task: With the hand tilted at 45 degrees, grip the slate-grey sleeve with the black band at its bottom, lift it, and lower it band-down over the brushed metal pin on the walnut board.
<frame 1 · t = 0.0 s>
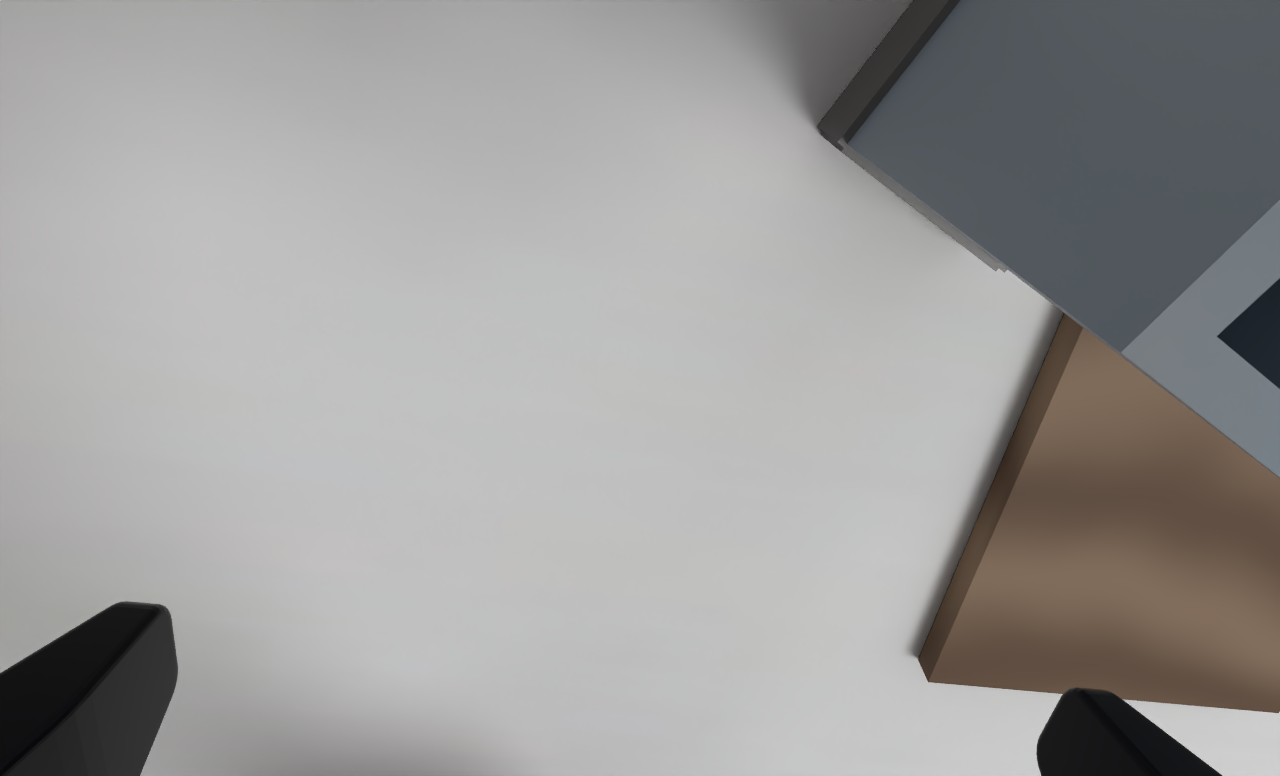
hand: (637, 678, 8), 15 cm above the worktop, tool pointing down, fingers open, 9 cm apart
sleeve: (970, 100, 20), on the worktop
pin board: (1181, 515, 26), on the worktop
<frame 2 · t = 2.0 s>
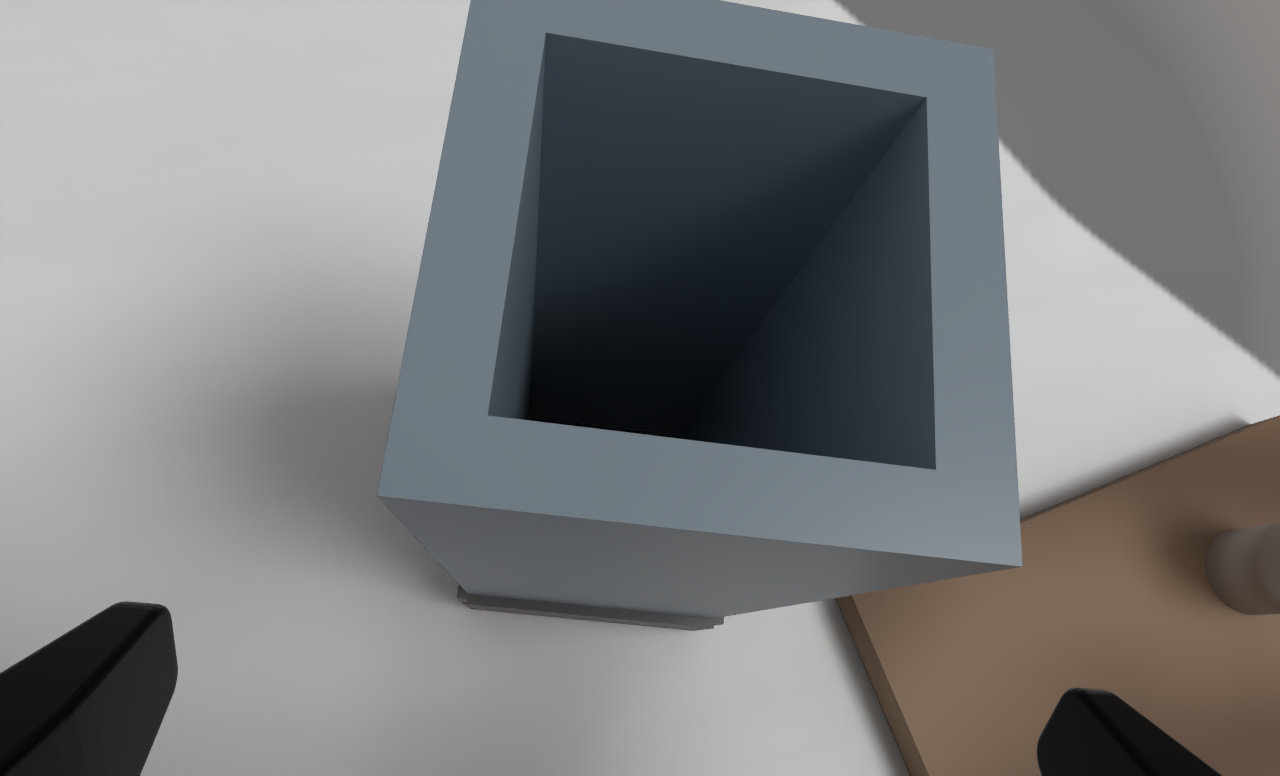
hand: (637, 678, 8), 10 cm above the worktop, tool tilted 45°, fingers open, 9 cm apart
sleeve: (597, 500, 19), on the worktop
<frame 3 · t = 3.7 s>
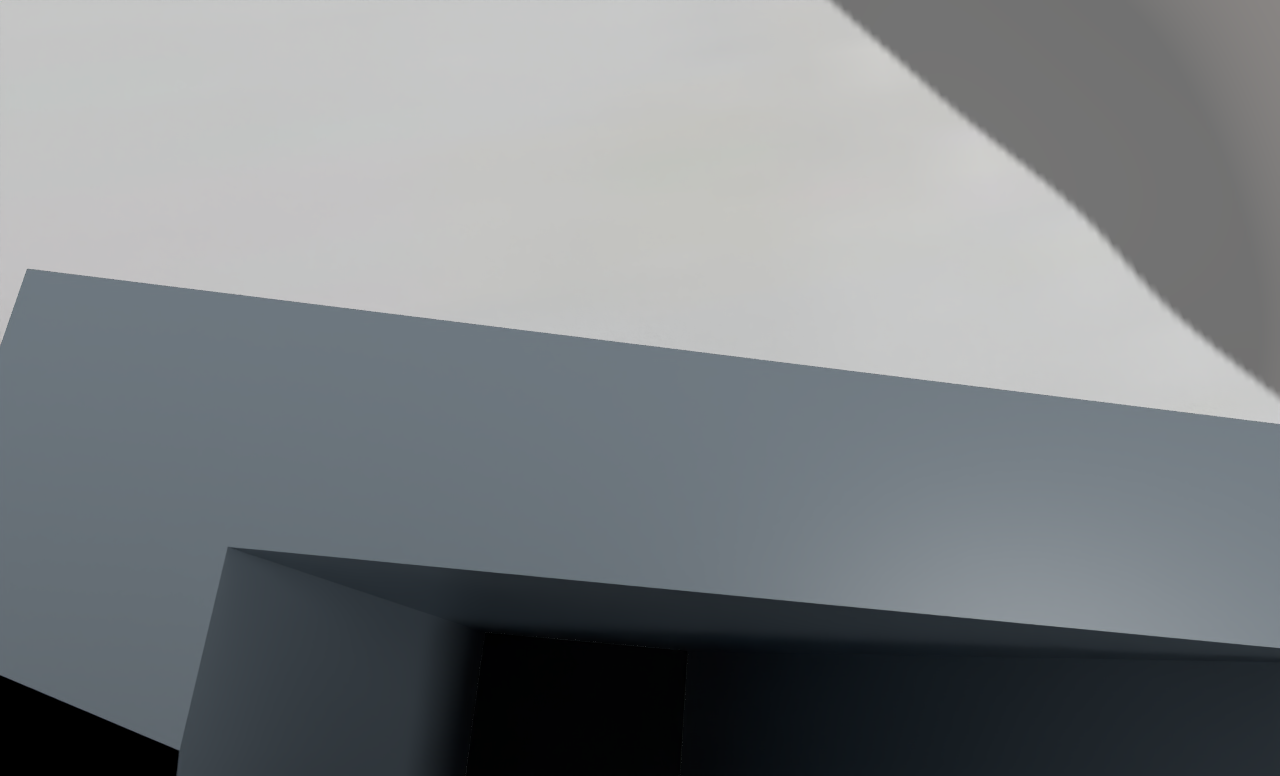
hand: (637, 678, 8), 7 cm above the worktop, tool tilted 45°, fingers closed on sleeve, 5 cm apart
sleeve: (576, 752, 14), on the worktop, touching gripper
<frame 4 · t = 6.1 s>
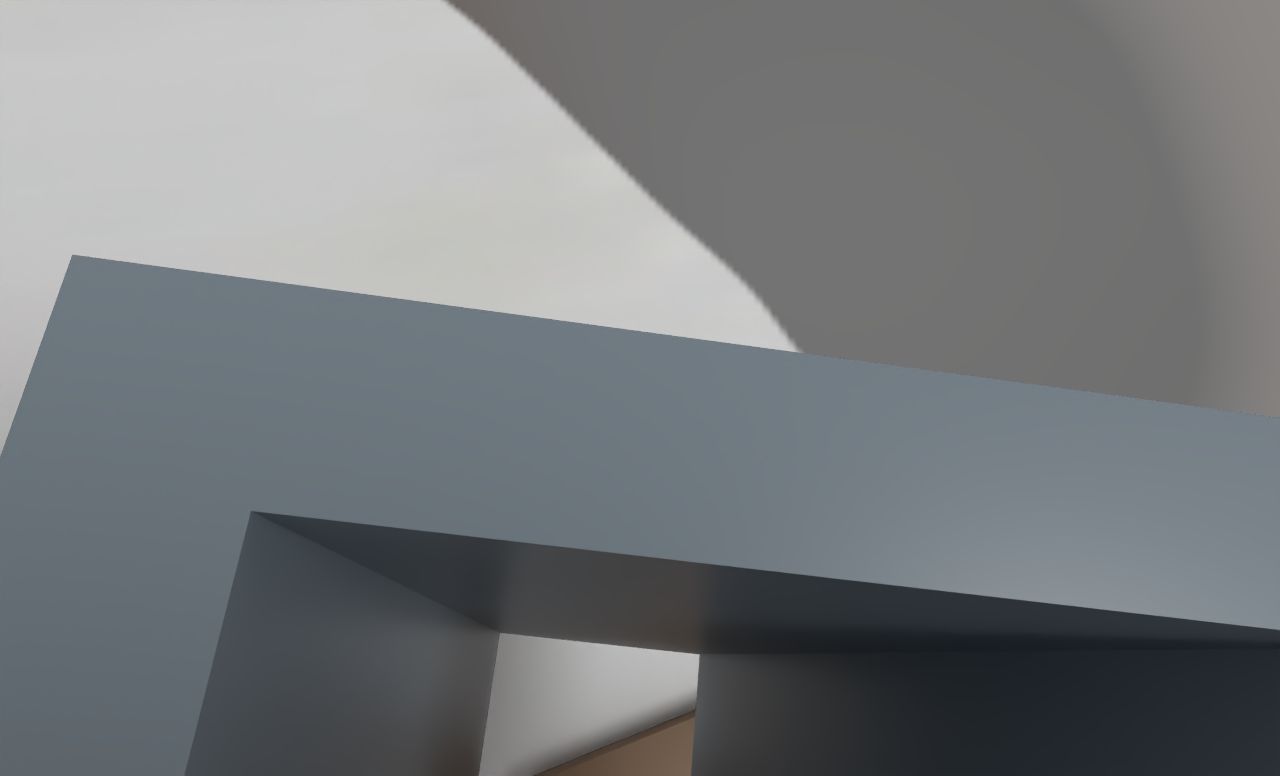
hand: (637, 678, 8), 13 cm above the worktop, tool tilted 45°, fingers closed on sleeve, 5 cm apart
sleeve: (588, 752, 14), point 7 cm above the worktop, touching gripper
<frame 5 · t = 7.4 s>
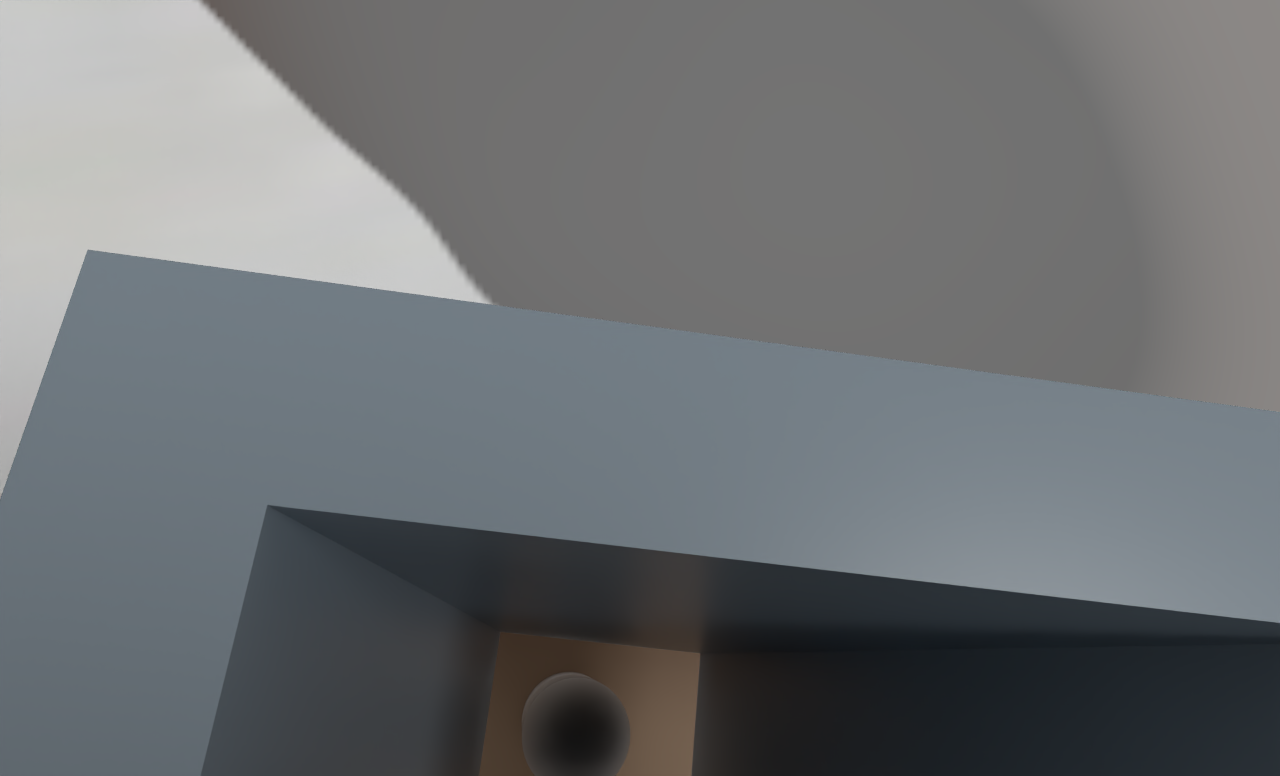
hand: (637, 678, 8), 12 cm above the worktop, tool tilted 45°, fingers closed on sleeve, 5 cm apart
sleeve: (589, 751, 14), point 5 cm above the worktop, touching gripper
when the fingers open (9 cm above the worktop, at t = 8.3 s): sleeve drops 1 cm, resting on pin board.
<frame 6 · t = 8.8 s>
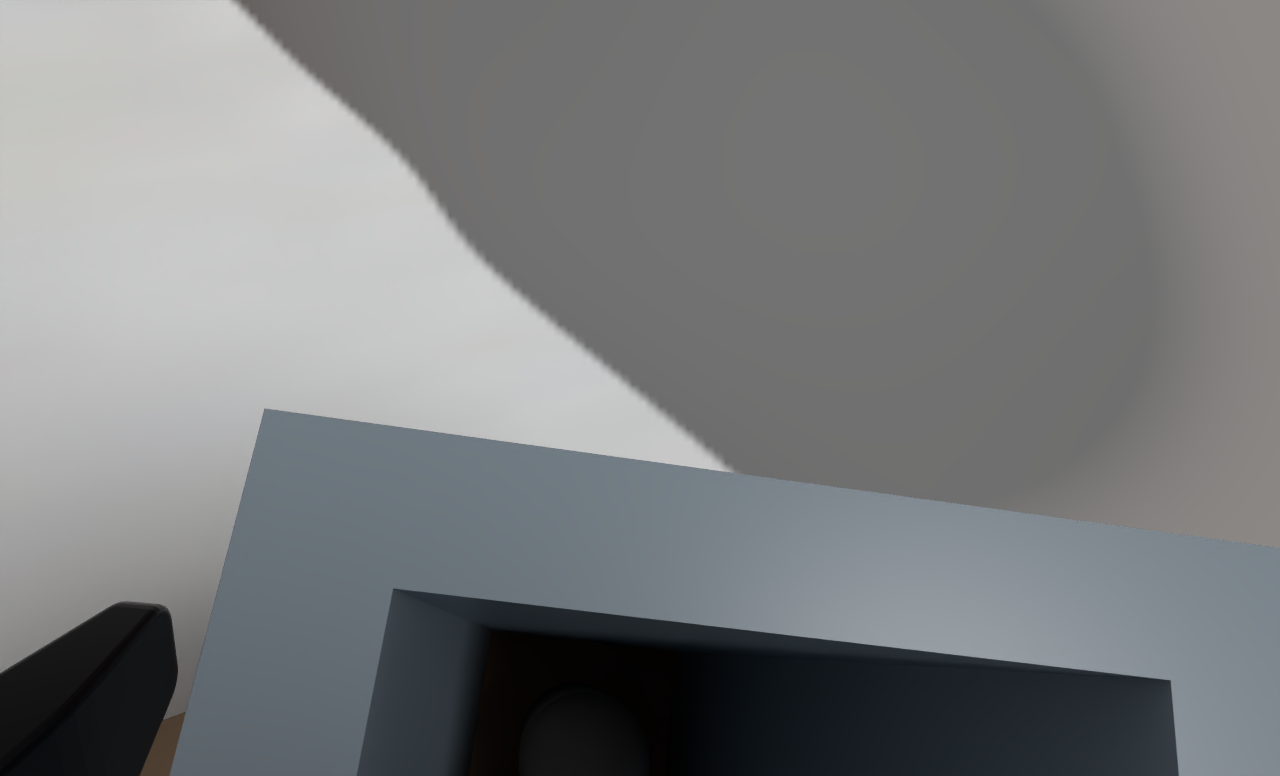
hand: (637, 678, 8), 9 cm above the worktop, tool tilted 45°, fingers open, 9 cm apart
sleeve: (572, 741, 15), point 1 cm above the worktop, touching pin board
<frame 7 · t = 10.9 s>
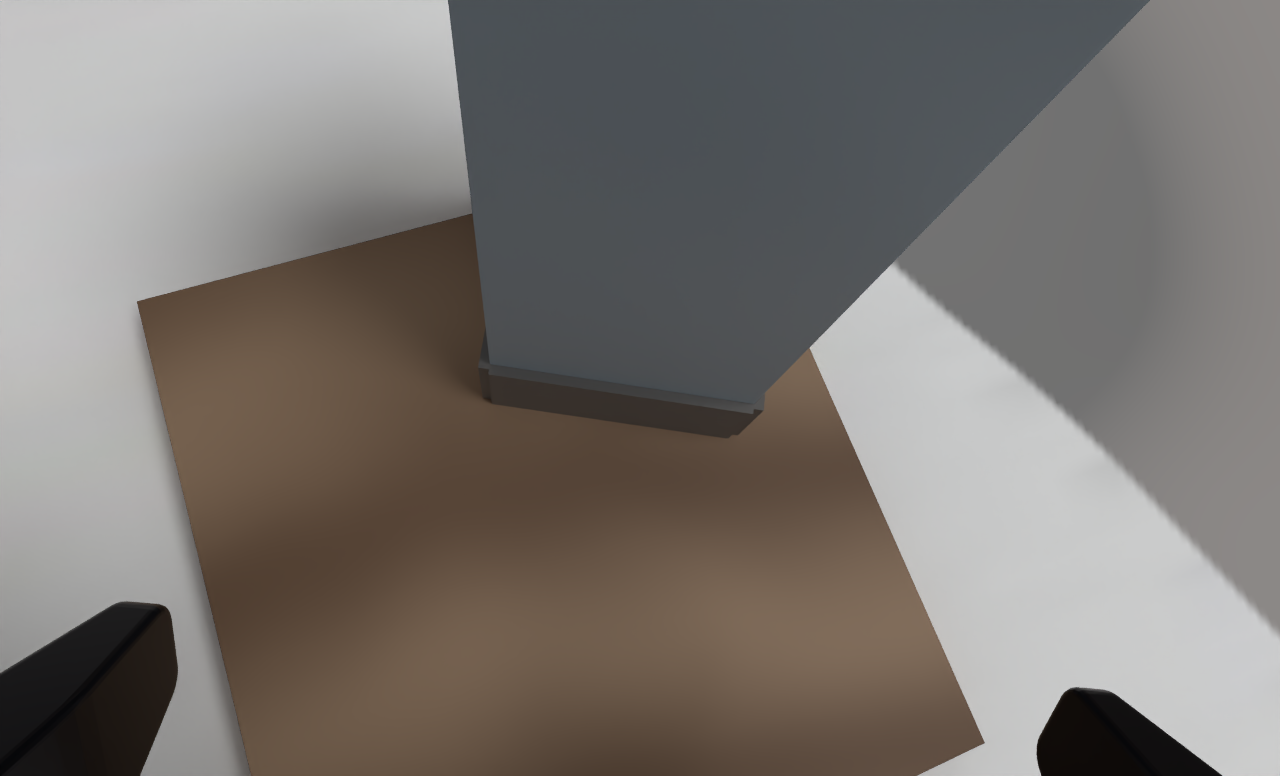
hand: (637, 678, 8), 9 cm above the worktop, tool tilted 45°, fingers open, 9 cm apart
sleeve: (626, 303, 18), point 1 cm above the worktop, touching pin board
pin board: (555, 527, 17), on the worktop
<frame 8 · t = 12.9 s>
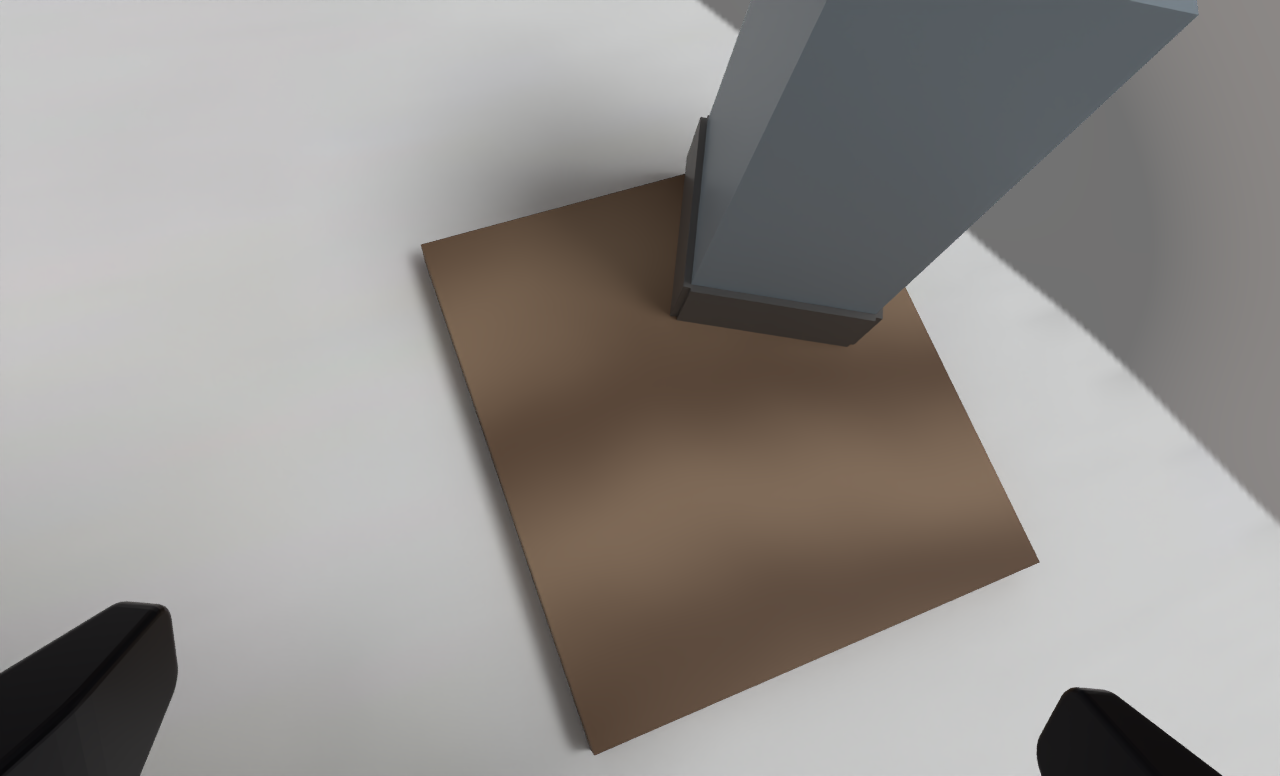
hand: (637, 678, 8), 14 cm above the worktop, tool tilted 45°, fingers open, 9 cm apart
sleeve: (768, 248, 24), point 1 cm above the worktop, touching pin board
pin board: (720, 412, 24), on the worktop
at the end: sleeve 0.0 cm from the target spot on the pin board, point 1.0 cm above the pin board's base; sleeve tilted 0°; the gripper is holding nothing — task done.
